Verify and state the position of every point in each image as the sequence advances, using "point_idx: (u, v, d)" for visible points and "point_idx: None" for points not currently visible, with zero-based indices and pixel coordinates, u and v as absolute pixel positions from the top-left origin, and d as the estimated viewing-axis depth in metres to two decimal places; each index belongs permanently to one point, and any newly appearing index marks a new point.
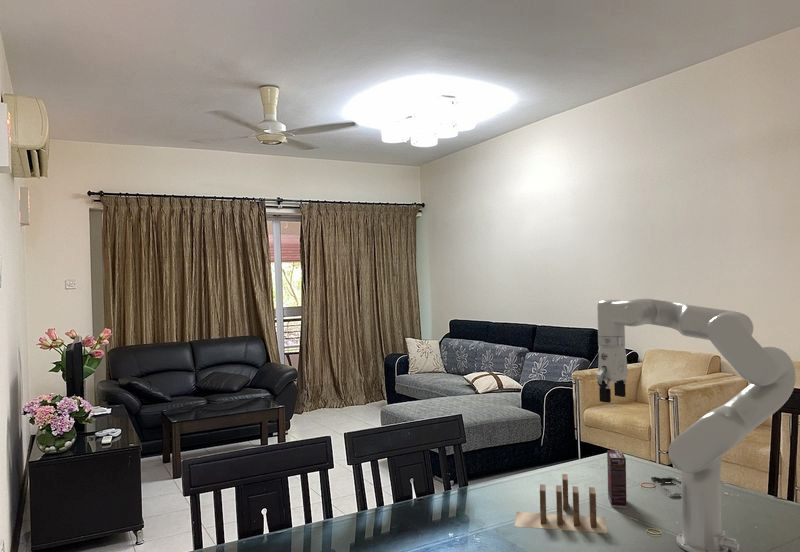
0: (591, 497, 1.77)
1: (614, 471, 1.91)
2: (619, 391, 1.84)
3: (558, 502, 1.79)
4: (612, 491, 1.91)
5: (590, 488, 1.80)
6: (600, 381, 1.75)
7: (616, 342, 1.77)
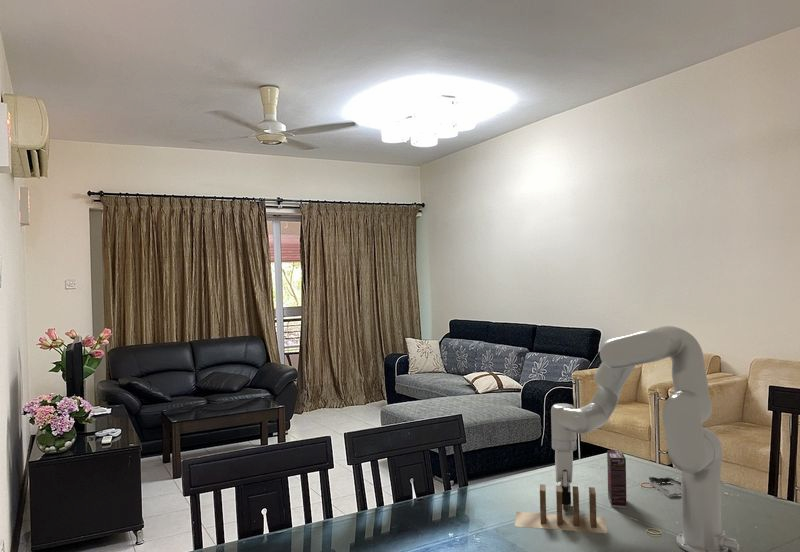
0: (591, 497, 1.77)
1: (614, 471, 1.91)
2: None
3: (558, 502, 1.79)
4: (612, 491, 1.91)
5: (590, 488, 1.80)
6: None
7: None
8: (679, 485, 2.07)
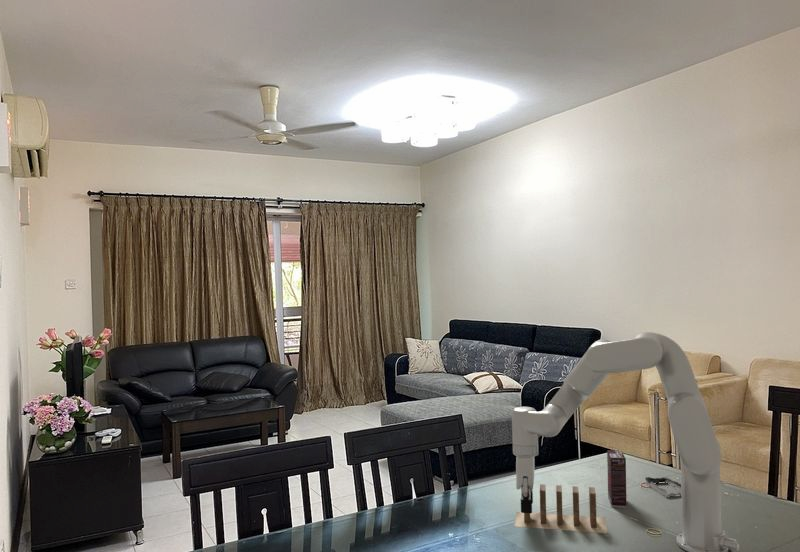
0: (591, 497, 1.77)
1: (614, 471, 1.91)
2: None
3: (558, 502, 1.79)
4: (612, 491, 1.91)
5: (590, 488, 1.80)
6: None
7: None
8: (675, 485, 2.07)
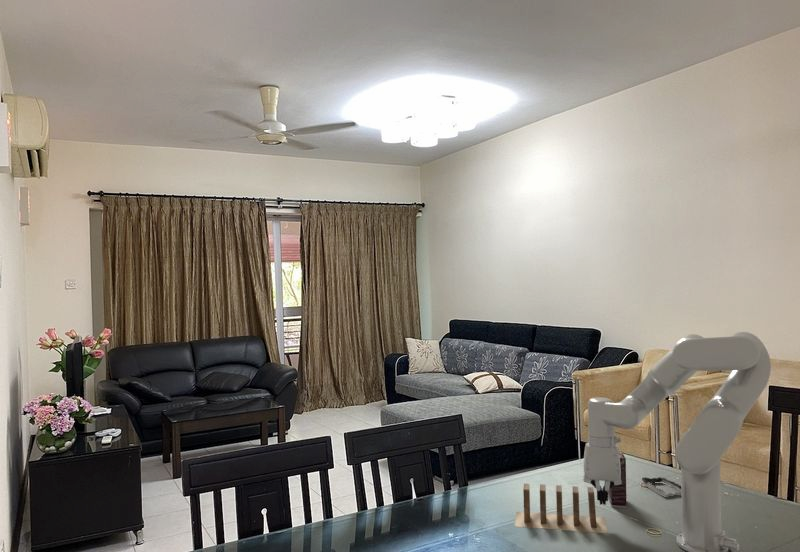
0: (590, 497, 1.77)
1: None
2: None
3: (558, 502, 1.79)
4: (612, 491, 1.91)
5: (588, 488, 1.80)
6: None
7: None
8: (672, 485, 2.07)
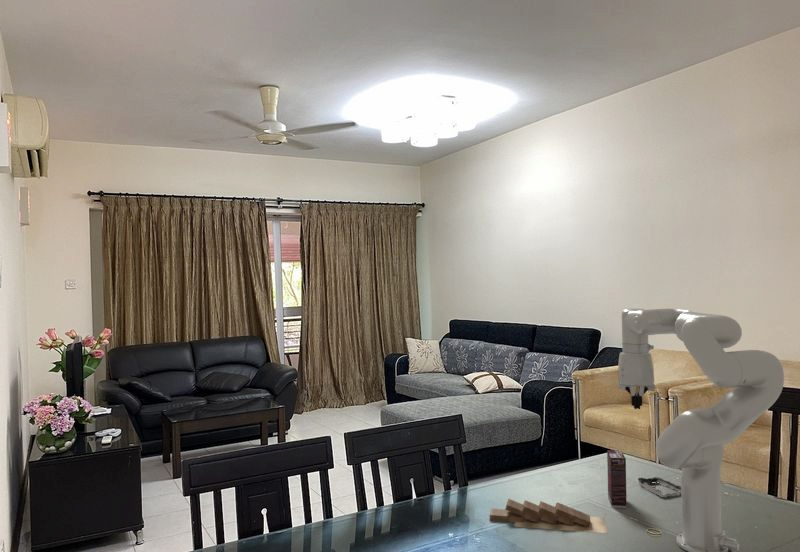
0: (559, 514, 1.79)
1: (614, 471, 1.91)
2: None
3: (533, 513, 1.81)
4: (612, 491, 1.91)
5: (555, 507, 1.83)
6: None
7: None
8: (668, 485, 2.07)
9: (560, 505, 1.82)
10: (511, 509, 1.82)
